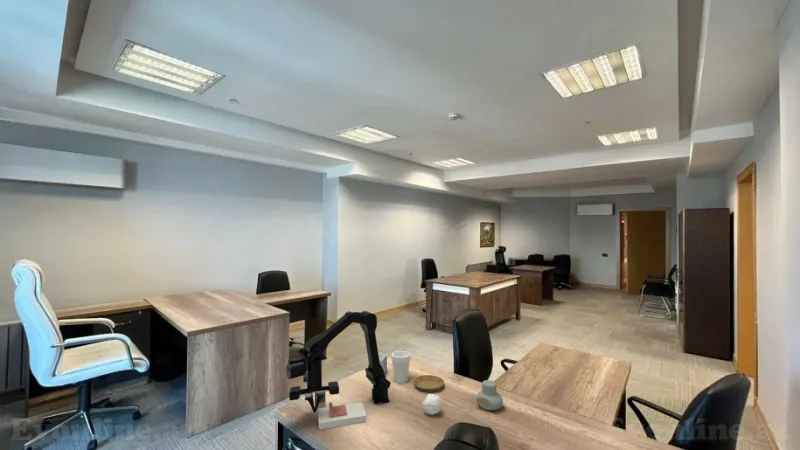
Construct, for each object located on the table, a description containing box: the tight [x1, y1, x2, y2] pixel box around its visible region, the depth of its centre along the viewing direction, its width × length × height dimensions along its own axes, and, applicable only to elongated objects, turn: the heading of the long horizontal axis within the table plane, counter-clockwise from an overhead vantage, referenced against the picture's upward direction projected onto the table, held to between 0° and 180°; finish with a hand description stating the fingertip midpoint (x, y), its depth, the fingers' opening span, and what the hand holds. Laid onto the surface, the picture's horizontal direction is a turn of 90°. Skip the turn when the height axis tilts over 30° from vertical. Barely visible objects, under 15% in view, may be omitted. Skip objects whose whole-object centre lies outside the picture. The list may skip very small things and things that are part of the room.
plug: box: [314, 391, 327, 410], centre depth 144 cm, size 4×4×7 cm
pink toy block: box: [328, 401, 347, 417], centre depth 134 cm, size 6×6×3 cm
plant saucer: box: [412, 374, 445, 393], centre depth 161 cm, size 15×15×3 cm
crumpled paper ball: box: [421, 393, 443, 415], centre depth 137 cm, size 8×8×8 cm
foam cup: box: [390, 350, 411, 384], centre depth 168 cm, size 10×9×13 cm
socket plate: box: [317, 401, 367, 430], centre depth 134 cm, size 18×11×2 cm, turn 105°
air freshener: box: [475, 379, 504, 411], centre depth 141 cm, size 11×8×10 cm
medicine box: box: [378, 354, 388, 375], centre depth 175 cm, size 8×4×9 cm, turn 168°
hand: (314, 412), depth 131 cm, fingers closed
